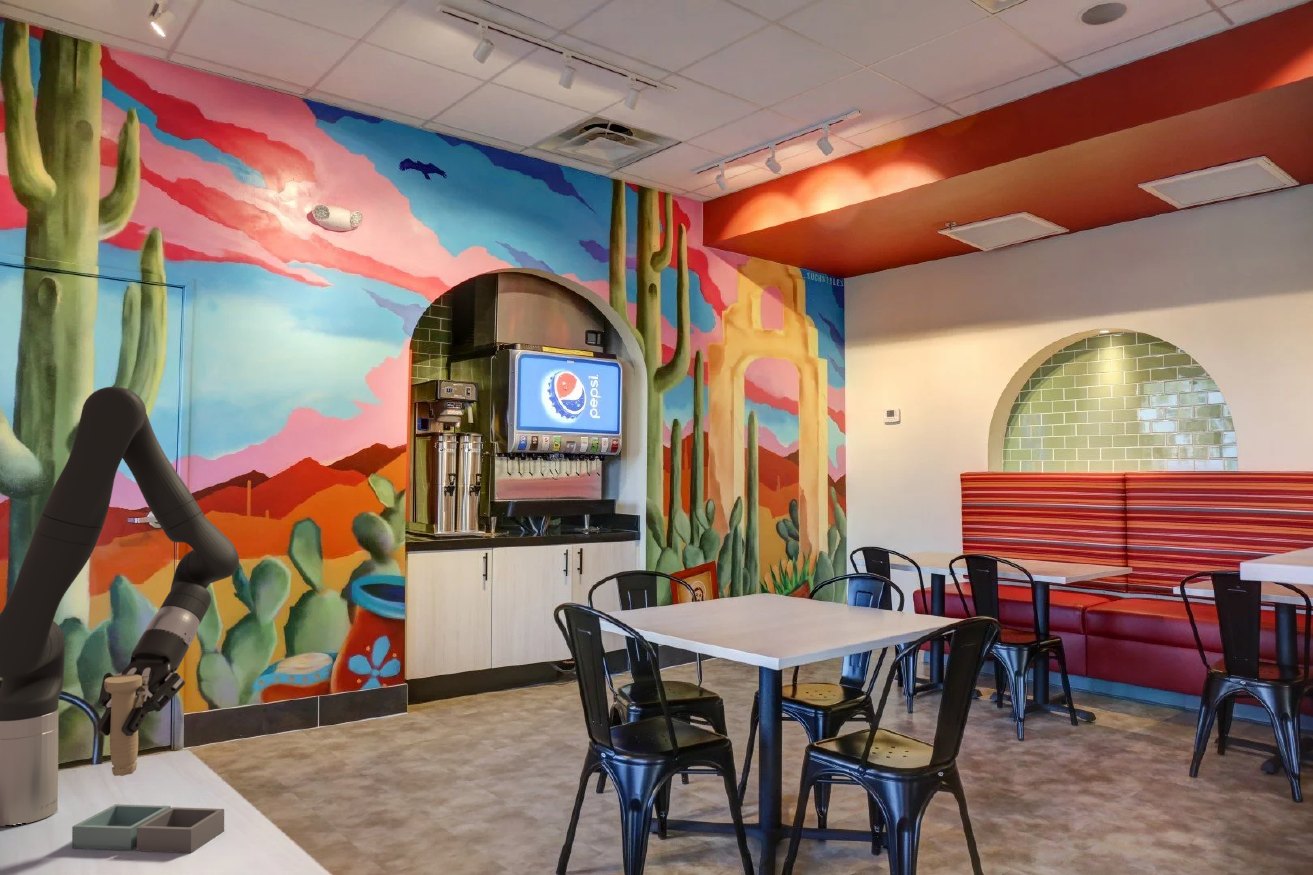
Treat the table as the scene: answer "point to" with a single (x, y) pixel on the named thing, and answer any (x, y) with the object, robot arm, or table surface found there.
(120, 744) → the handle
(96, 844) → the parts tray
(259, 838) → the table surface
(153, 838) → the open rectangular frame
